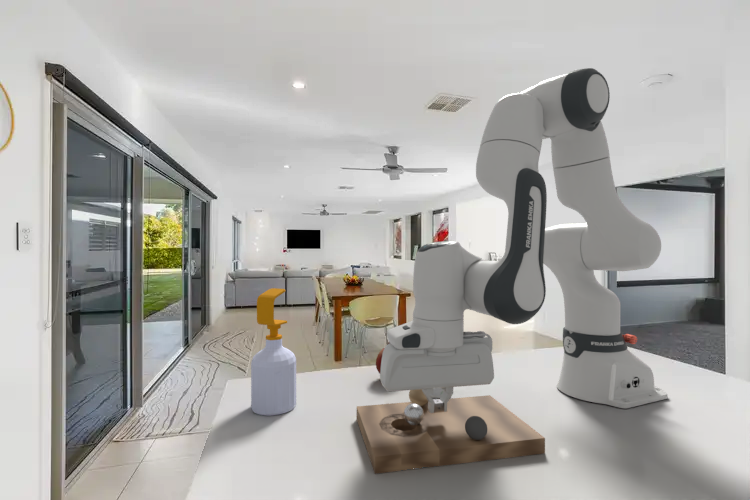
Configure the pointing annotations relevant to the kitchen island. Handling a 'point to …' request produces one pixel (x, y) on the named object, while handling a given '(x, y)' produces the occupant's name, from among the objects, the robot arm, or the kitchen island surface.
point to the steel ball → (413, 414)
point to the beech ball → (418, 397)
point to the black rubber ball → (476, 427)
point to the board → (443, 435)
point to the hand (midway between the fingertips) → (437, 411)
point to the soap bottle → (272, 364)
